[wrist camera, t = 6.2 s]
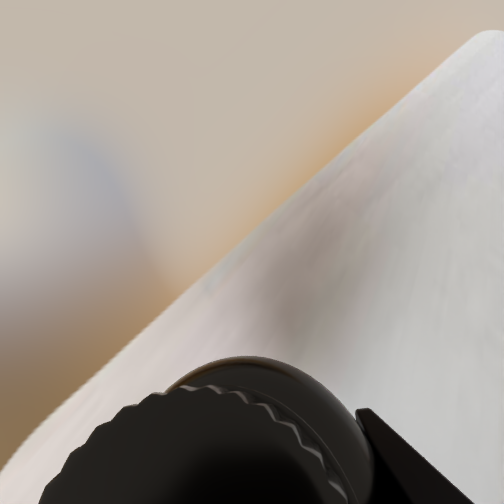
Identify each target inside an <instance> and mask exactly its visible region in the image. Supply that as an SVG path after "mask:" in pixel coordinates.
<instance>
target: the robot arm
mask: <svg viewBox="0 0 504 504" xmlns="http://www.w3.org/2000/svg"><path fill="white" fill-rule="evenodd" d="M355 415H356V422H357V423H358V425H359V426H360V427H361V429H362V430H363V432H364V434H365V435H366V437H367V439H368V441H369V442H370V444H371V446H372V448H373V450H374V452H375V454H376V456H377V458H378V460H379V462H380V464H381V467H382V469H383V472H384V474H385V477H386V479H387V482H388V485H389V488H390V491H391V494H392V497H393V500H394V503H395V504H474V503H473V502H472V501H471V500H470V499H469V498H467V497H466V496H465V495H464V494H463V493H462V492H461V491H460V490H459V489H458V488H457V487H455V486H454V485H453V484H452V483H451V482H450V481H449V480H448V479H447V478H446V477H444V476H443V475H442V474H441V473H440V472H439V471H438V470H437V469H436V468H435V467H434V466H432V465H431V464H430V463H429V462H428V461H427V460H426V459H425V458H424V457H423V456H421V455H420V454H419V453H418V452H417V451H416V450H415V449H414V448H413V447H412V446H411V445H409V444H408V443H407V442H406V441H405V440H404V439H403V438H402V437H401V436H400V435H398V434H397V433H396V432H395V431H394V430H393V429H392V428H391V427H390V426H389V425H387V424H386V423H385V422H384V421H383V420H382V419H381V418H380V417H379V416H378V415H377V414H375V413H374V412H373V411H372V410H371V409H369V408H362V409H357V410H356V411H355Z"/></svg>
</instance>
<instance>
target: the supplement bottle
mask: <svg viewBox="0 0 504 504" xmlns="http://www.w3.org/2000/svg"><path fill="white" fill-rule="evenodd" d="M38 504H395V503H394V500H393V497H392V494H391V491H390V488H389V485H388V482H387V479H386V477H385V474H384V472H383V469H382V467H381V464H380V462H379V460H378V458H377V456H376V454H375V452H374V450H373V448H372V446H371V444H370V442H369V441H368V439H367V437H366V435H365V434H364V432H363V430H362V429H361V427H360V426H359V425H358V423H357V422H356V420H355V419H354V417H353V416H352V415H351V414H350V412H349V411H348V410H347V409H346V408H345V406H344V405H343V404H342V403H341V402H340V401H339V400H338V399H337V398H336V397H335V396H334V395H333V394H332V393H331V392H330V391H329V390H328V389H327V388H325V387H324V386H323V385H322V384H321V383H319V382H318V381H317V380H315V379H314V378H312V377H311V376H310V375H308V374H306V373H304V372H303V371H301V370H299V369H297V368H295V367H293V366H291V365H289V364H286V363H283V362H280V361H277V360H273V359H269V358H265V357H257V356H237V357H229V358H224V359H220V360H216V361H213V362H210V363H208V364H205V365H203V366H201V367H198V368H196V369H195V370H193V371H191V372H189V373H188V374H186V375H185V376H183V377H182V378H180V379H179V380H177V381H176V382H175V383H174V384H172V385H171V386H170V387H169V388H168V389H167V390H166V391H165V392H164V393H160V392H155V393H152V394H150V395H149V396H147V397H146V398H145V399H143V400H142V401H141V402H140V403H139V404H133V405H128V406H125V407H123V408H122V409H121V410H120V411H119V412H118V413H117V414H116V416H115V417H114V418H113V419H112V420H111V421H109V422H106V423H103V424H101V425H99V426H97V427H96V428H95V430H94V431H93V432H92V434H91V435H90V437H89V438H88V440H87V441H86V443H85V444H84V445H82V446H81V447H78V448H77V449H75V450H74V451H73V452H71V453H70V455H69V457H68V458H67V460H66V462H65V464H64V466H63V468H62V470H61V472H60V473H59V474H58V475H57V476H56V477H55V478H53V479H52V480H51V481H50V482H49V483H48V484H47V485H46V486H45V489H44V491H43V493H42V496H41V498H40V501H39V503H38Z"/></svg>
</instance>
